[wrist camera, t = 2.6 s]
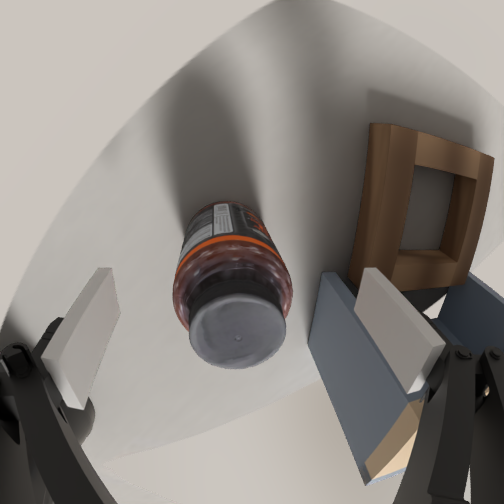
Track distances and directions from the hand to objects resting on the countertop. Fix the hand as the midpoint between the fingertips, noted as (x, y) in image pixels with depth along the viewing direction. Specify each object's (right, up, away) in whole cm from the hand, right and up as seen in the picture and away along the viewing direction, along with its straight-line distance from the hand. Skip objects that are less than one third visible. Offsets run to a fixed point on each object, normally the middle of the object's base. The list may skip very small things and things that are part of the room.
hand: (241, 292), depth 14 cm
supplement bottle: (-1, +3, +7) cm, 8 cm away
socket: (+16, +6, +8) cm, 19 cm away
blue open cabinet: (+15, -3, +12) cm, 20 cm away
